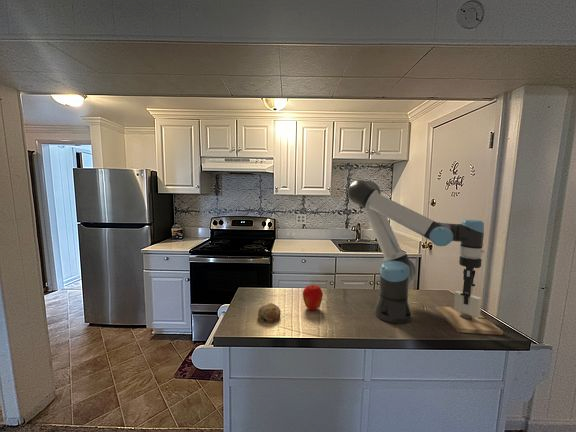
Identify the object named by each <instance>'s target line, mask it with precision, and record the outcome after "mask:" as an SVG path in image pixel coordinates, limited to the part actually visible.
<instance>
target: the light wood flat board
mask: <svg viewBox="0 0 576 432" xmlns="http://www.w3.org/2000/svg"><path fill="white" fill-rule="evenodd" d="M435 310H436V312H437V313H439V315H441V316H442V318H443V319H445V320H446V321H447V322H448V323H449V324H450V325H451V326H452V327H453V328H454V329H455V331H457V332H458V333H467V334H479V335H480V334H484V335H496V336H497V335H499V336H503V335H504V331H503V330H502V329H501V328H499V327H498V326H496V325H495V324H494V323H493V322H491V321H490V320H489V319H487V318H486V317H485V316H483V315H482V314H481V313H480V317H478V318H476V317H473V316H472V319H471V320H467V319H463V318H462V317H461V312H459V311H456V310H454V306H443V305H442V306H441V305H439V306H438V305H437V306H436V305H435Z"/></svg>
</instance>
